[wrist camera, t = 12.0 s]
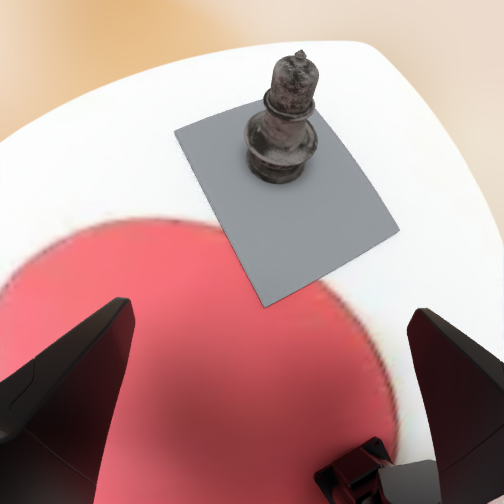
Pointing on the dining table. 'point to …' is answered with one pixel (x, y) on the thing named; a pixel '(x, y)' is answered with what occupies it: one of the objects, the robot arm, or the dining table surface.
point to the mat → (285, 204)
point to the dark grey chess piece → (284, 123)
